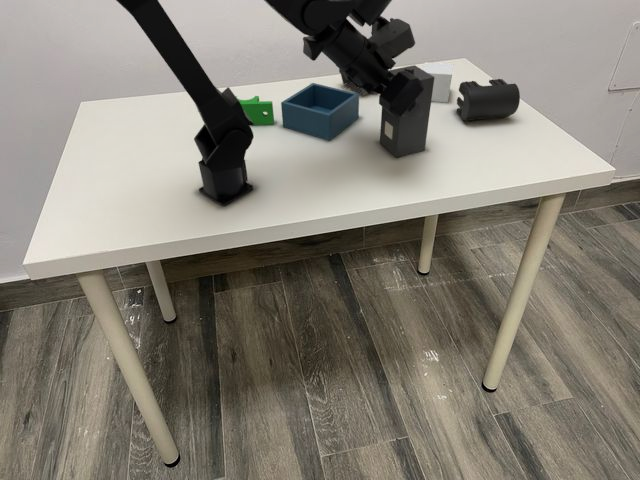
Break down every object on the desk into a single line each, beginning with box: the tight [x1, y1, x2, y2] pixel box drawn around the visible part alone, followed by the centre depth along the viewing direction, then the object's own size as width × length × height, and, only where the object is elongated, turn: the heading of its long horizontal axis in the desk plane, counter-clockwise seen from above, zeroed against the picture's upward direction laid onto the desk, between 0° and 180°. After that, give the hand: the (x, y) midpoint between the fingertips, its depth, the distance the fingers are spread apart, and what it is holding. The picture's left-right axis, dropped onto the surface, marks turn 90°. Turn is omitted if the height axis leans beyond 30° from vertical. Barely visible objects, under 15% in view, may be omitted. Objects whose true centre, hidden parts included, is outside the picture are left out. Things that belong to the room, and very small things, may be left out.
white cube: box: [422, 61, 454, 103], centre depth 102 cm, size 6×6×6 cm
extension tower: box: [379, 64, 434, 159], centre depth 83 cm, size 6×6×14 cm
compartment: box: [280, 82, 360, 141], centre depth 94 cm, size 11×11×5 cm
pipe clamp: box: [235, 95, 275, 126], centre depth 95 cm, size 11×4×5 cm, turn 89°
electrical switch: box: [340, 73, 376, 97], centre depth 104 cm, size 9×5×9 cm, turn 32°
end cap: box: [455, 78, 521, 121], centre depth 93 cm, size 10×7×7 cm
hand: (406, 105), depth 82 cm, fingers open, 9 cm apart
